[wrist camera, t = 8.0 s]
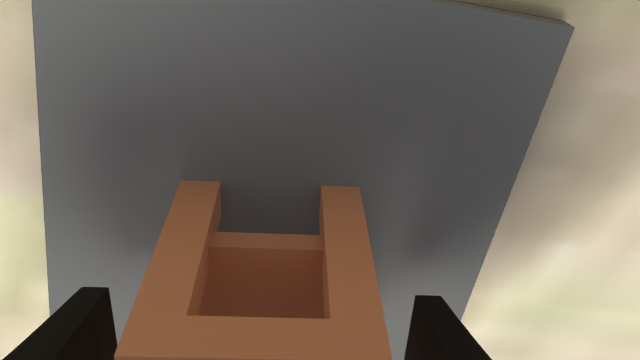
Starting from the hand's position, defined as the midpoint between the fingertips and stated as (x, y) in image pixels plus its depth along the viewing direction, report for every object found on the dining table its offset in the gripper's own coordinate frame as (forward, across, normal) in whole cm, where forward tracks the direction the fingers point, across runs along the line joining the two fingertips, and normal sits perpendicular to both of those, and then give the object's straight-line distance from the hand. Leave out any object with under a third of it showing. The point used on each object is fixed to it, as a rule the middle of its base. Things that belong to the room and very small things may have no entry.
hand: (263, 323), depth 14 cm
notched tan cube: (+3, 0, 0) cm, 3 cm away
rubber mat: (+3, 0, 0) cm, 3 cm away
